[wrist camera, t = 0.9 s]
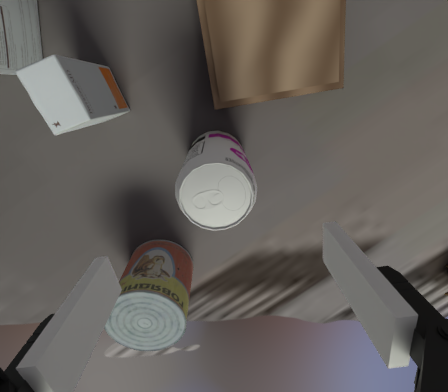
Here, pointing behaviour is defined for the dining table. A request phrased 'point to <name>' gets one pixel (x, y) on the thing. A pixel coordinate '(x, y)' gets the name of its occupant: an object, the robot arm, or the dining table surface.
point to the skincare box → (72, 92)
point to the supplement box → (19, 35)
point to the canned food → (152, 297)
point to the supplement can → (216, 182)
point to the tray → (272, 48)
